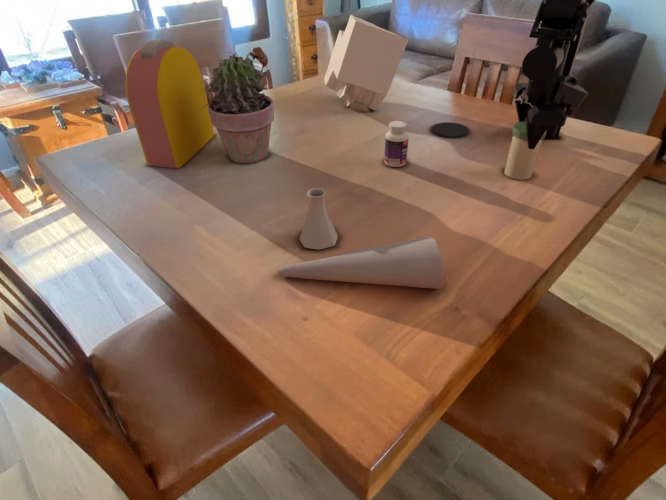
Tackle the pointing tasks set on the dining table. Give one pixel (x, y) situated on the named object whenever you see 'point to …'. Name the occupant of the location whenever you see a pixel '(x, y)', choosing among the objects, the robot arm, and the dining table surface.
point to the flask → (317, 223)
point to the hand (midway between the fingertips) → (527, 142)
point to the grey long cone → (379, 265)
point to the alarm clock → (167, 103)
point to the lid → (521, 131)
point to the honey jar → (521, 159)
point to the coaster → (450, 130)
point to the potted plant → (241, 107)
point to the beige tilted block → (364, 62)
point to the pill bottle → (396, 144)
